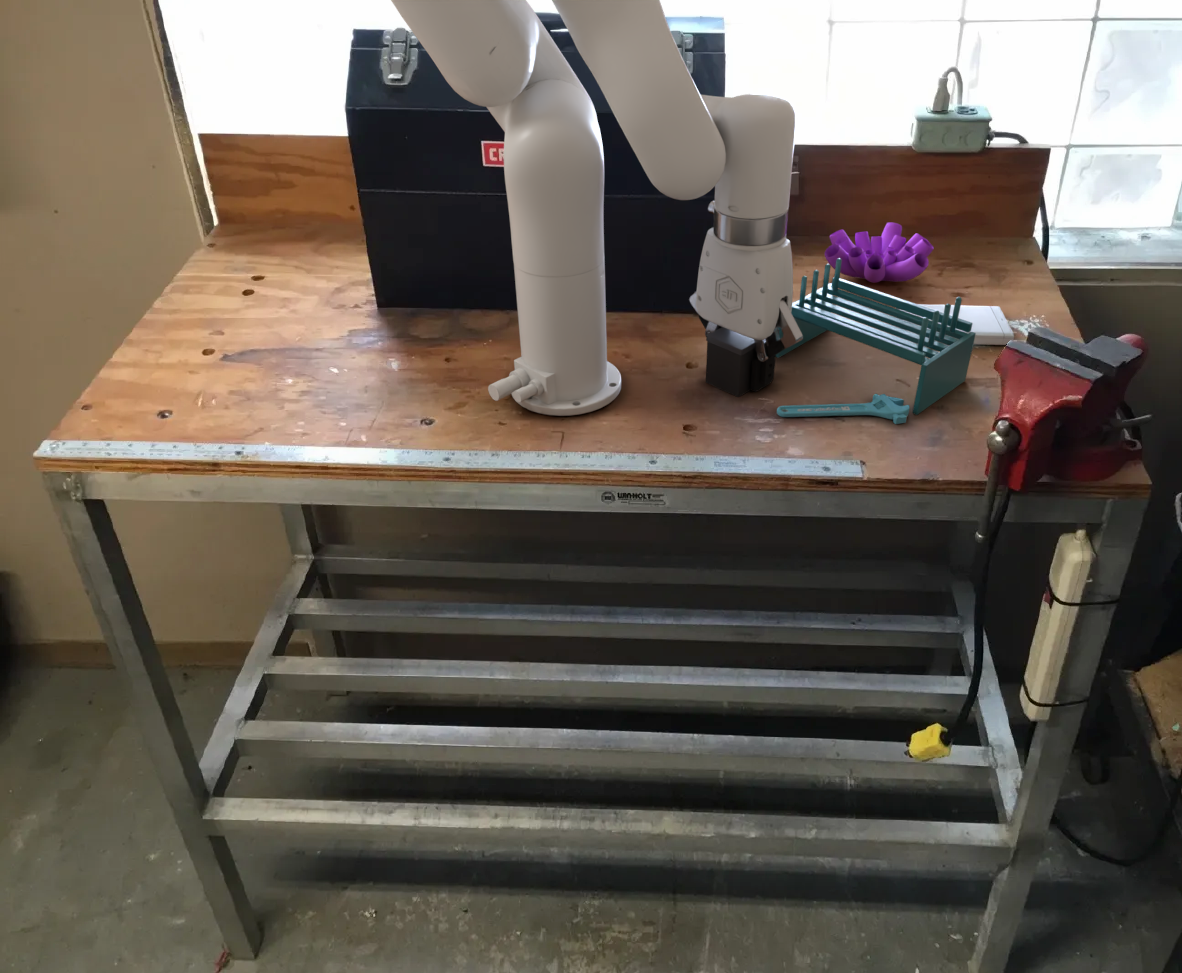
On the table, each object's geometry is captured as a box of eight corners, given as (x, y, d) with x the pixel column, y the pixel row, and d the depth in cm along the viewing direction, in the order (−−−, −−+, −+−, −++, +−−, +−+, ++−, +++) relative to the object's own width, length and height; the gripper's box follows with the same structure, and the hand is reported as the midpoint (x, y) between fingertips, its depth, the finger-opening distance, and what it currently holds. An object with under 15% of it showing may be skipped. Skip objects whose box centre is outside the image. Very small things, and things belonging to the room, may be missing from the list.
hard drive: (906, 332, 117) (1015, 334, 116) (896, 302, 124) (999, 303, 122) (904, 344, 118) (1012, 346, 117) (894, 314, 124) (996, 315, 123)
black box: (738, 398, 109) (741, 349, 106) (704, 382, 112) (706, 335, 109) (775, 376, 113) (779, 329, 109) (741, 361, 116) (744, 315, 112)
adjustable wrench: (903, 391, 107) (915, 415, 103) (901, 399, 108) (913, 423, 104) (774, 394, 107) (781, 419, 103) (773, 402, 108) (780, 426, 104)
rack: (917, 415, 105) (933, 328, 99) (774, 356, 117) (781, 275, 110) (965, 380, 111) (983, 297, 105) (824, 327, 122) (834, 249, 116)
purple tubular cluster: (925, 299, 135) (958, 263, 126) (823, 313, 132) (849, 277, 123) (901, 227, 138) (932, 187, 129) (801, 240, 135) (825, 200, 126)
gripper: (664, 213, 105) (662, 363, 115) (795, 256, 94) (780, 417, 105) (710, 194, 109) (704, 341, 119) (841, 234, 98) (822, 391, 109)
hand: (740, 375), depth 112 cm, fingers open, 5 cm apart
